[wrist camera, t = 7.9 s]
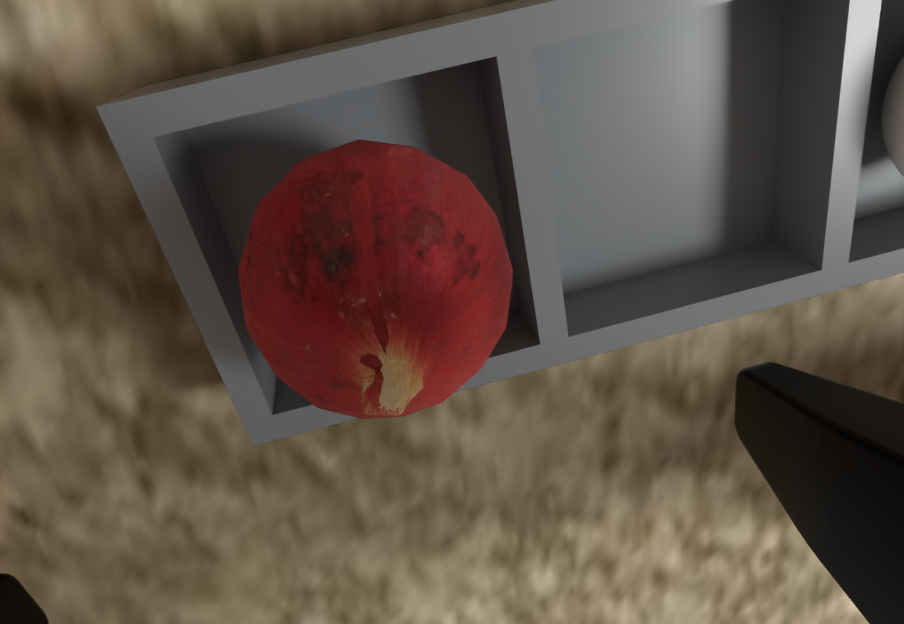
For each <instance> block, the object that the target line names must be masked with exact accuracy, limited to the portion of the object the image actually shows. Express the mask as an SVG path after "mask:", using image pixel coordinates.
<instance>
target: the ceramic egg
mask: <svg viewBox="0 0 904 624" xmlns="http://www.w3.org/2000/svg"><path fill="white" fill-rule="evenodd" d="M881 130H882V136H883V140H884V144H885V147H886V150H887V152H888V155H889V157H890V159H891V160H892V162H893V164H894V165H895V167H896V168H897V170H898V171H899V172H900V174H901V175H902V176H903V177H904V55H903V57H902V58H901V60H900V61H899V63H898V64H897V66H896V68H895V70H894V72H893V74H892V76H891V78H890V80H889V83H888V85H887V88H886V91H885V95H884V99H883V104H882V114H881Z"/></svg>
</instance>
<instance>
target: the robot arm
mask: <svg viewBox="0 0 904 624" xmlns="http://www.w3.org/2000/svg"><path fill="white" fill-rule="evenodd" d="M734 419H735V427H736V431H737V433H738V436H739V438H740V440H741V441H742V443H743V445H744V446H745V448H746V449H747V451H748V452H749V454H750V456H751V457H752V459H753V460H754V462H755V463H756V465H757V467H758V468H759V470H760V471H761V473H762V474H763V476H764V478H765V479H766V481H767V482H768V484H769V485H770V487H771V489H772V490H773V492H774V493H775V495H776V496H777V498H778V500H779V501H780V503H781V504H782V506H783V507H784V509H785V511H786V512H787V514H788V515H789V517H790V518H791V520H792V522H793V523H794V525H795V526H796V528H797V529H798V531H799V532H800V534H801V535H802V537H803V538H804V540H805V541H806V543H807V544H808V545H809V547H810V548H811V549H812V551H813V552H814V553H815V555H816V556H817V557H818V559H819V560H820V561H821V563H822V564H823V565H824V566H825V568H826V569H827V570H828V572H829V573H830V574H831V575H832V577H833V578H834V579H835V580H836V582H837V583H838V584H839V585H840V587H841V588H842V589H843V591H844V592H845V593H846V594H847V596H848V597H849V598H850V599H851V601H852V602H853V603H854V604H855V606H856V607H857V608H858V610H859V611H860V612H861V613H862V615H863V616H864V617H865V618H866V620H867V621H868V622H869V623H870V624H904V403H901V402H897V401H894V400H891V399H888V398H885V397H882V396H879V395H875V394H872V393H869V392H866V391H863V390H860V389H856V388H853V387H850V386H847V385H844V384H841V383H837V382H834V381H831V380H828V379H825V378H822V377H818V376H815V375H812V374H809V373H806V372H803V371H799V370H796V369H793V368H790V367H787V366H784V365H781V364H777V363H773V362H768V363H763V364H759V365H756V366H752V367H748V368H745V369H743V370H741V371H740V372H739V373H738V375H737V377H736V389H735V418H734ZM0 624H49V623H48V619H47V616H46V614H45V613H44V611H43V610H42V609H41V608H40V606H39V605H38V604H37V603H36V602H35V600H34V599H33V598H32V597H31V595H30V594H29V593H28V592H27V591H26V589H25V588H24V587H23V586H22V585H21V583H20V582H19V581H18V580H17V579H16V578H15V577H14V576H12V575H10V574H7V573H4V574H3V573H1V574H0Z"/></svg>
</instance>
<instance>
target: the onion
mask: <svg viewBox="0 0 904 624" xmlns="http://www.w3.org/2000/svg"><path fill="white" fill-rule="evenodd" d="M238 276H239V283H240V290H241V297H242V304H243V311H244V319H245V323H246V327H247V331H248V334H249V335H250V337H251V338H252V340H253V341H254V343H255V344H256V346H257V347H258V349H259V351H260V352H261V354H262V355H263V357H264V358H265V360H266V361H267V363H268V364H269V366H270V368H271V369H272V371H273V372H274V373H275V374H276V375H277V376H278V377H279V378H280V379H281V380H282V381H283V382H284V383H286V384H287V385H288V386H289V387H291V388H292V389H293V390H295V391H296V392H297V393H299V394H300V395H301V396H303V397H304V398H305V399H306V400H308V401H309V402H310V403H311V404H313V405H314V406H315V407H317V408H319V409H323V410H327V411H331V412H335V413H339V414H343V415H347V416H352V417H356V418H360V419H368V418H385V417H400V416H405V415H408V414H411V413H414V412H416V411H419V410H422V409H425V408H427V407H430V406H433V405H436V404H439V403H441V402H443V401H444V400H445V399H447V398H448V397H449V396H450V395H451V394H453V393H454V392H455V391H456V390H457V389H459V388H460V387H461V386H462V385H463V384H464V383H466V382H467V381H468V380H469V379H470V378H472V377H473V376H474V375H475V374H476V373H477V372H478V371H479V370H480V369H481V368H482V367H483V365H484V364H485V362H486V360H487V359H488V357H489V355H490V354H491V352H492V350H493V349H494V347H495V345H496V343H497V342H498V340H499V338H500V337H501V335H502V333H503V332H504V330H505V328H506V325H507V317H508V310H509V303H510V295H511V288H512V277H513V268H512V265H511V262H510V258H509V255H508V252H507V248H506V245H505V242H504V238H503V235H502V232H501V228H500V225H499V222H498V219H497V216H496V214H495V213H494V211H493V210H492V209H491V207H490V206H489V205H488V203H487V202H486V201H485V199H484V198H483V196H482V195H481V194H480V192H479V191H478V190H477V188H476V187H475V186H474V184H473V183H472V182H471V180H470V179H469V178H468V176H466V175H464V174H463V173H461V172H459V171H457V170H455V169H454V168H452V167H450V166H448V165H447V164H445V163H443V162H441V161H439V160H438V159H436V158H434V157H432V156H430V155H429V154H427V153H425V152H423V151H421V150H420V149H418V148H416V147H414V146H406V145H398V144H391V143H383V142H376V141H368V140H360V139H358V140H355V141H352V142H349V143H346V144H344V145H341V146H338V147H335V148H332V149H329V150H326V151H323V152H320V153H318V154H315V155H312V156H309V157H306V158H304V159H303V160H301V161H299V162H298V163H297V164H296V165H295V166H294V167H293V168H292V169H291V170H290V171H289V172H288V173H287V174H286V175H285V176H284V177H283V178H282V179H281V180H280V181H279V182H278V183H277V184H276V185H275V186H274V187H273V188H272V189H271V190H270V191H269V192H268V193H267V194H266V195H265V196H264V197H263V198H262V199H261V200H260V202H259V203H258V204H257V205H256V208H255V211H254V215H253V218H252V222H251V225H250V229H249V233H248V236H247V240H246V243H245V247H244V250H243V254H242V258H241V261H240V265H239V268H238Z"/></svg>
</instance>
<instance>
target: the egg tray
mask: <svg viewBox="0 0 904 624" xmlns="http://www.w3.org/2000/svg"><path fill="white" fill-rule="evenodd" d="M903 55H904V0H514V1H510V2H505V3H501V4H497V5H492V6H488V7H484V8H479V9H475V10H471V11H466V12H462V13H458V14H453V15H449V16H445V17H440V18H436V19H432V20H427V21H423V22H419V23H414V24H410V25H406V26H401V27H397V28H393V29H388V30H384V31H380V32H375V33H371V34H367V35H362V36H358V37H354V38H349V39H345V40H341V41H336V42H332V43H328V44H323V45H319V46H315V47H310V48H306V49H302V50H297V51H293V52H289V53H284V54H280V55H276V56H271V57H267V58H263V59H258V60H254V61H250V62H245V63H241V64H237V65H232V66H228V67H224V68H219V69H215V70H211V71H206V72H202V73H198V74H193V75H189V76H185V77H180V78H176V79H172V80H167V81H163V82H159V83H154V84H150V85H146V86H143V87H140V88H138V89H136V90H133V91H131V92H129V93H127V94H124V95H122V96H120V97H117V98H115V99H113V100H110V101H108V102H106V103H103V104H101V105H99V106H97V107H96V108H97V110H98V113H99V115H100V117H101V119H102V121H103V123H104V126H105V128H106V130H107V132H108V134H109V136H110V138H111V141H112V143H113V145H114V147H115V149H116V151H117V154H118V156H119V158H120V160H121V162H122V164H123V167H124V169H125V171H126V173H127V175H128V177H129V179H130V182H131V184H132V186H133V188H134V190H135V192H136V195H137V197H138V199H139V201H140V203H141V205H142V207H143V210H144V212H145V214H146V216H147V218H148V220H149V223H150V225H151V227H152V229H153V231H154V233H155V236H156V238H157V240H158V242H159V244H160V246H161V248H162V251H163V253H164V255H165V257H166V259H167V261H168V264H169V266H170V268H171V270H172V272H173V274H174V277H175V279H176V281H177V283H178V285H179V287H180V289H181V292H182V294H183V296H184V298H185V300H186V302H187V305H188V307H189V309H190V311H191V313H192V315H193V317H194V320H195V322H196V324H197V326H198V328H199V330H200V333H201V335H202V337H203V339H204V341H205V343H206V346H207V348H208V350H209V352H210V354H211V356H212V358H213V361H214V363H215V365H216V367H217V369H218V371H219V374H220V376H221V378H222V380H223V382H224V384H225V387H226V389H227V391H228V393H229V395H230V397H231V399H232V402H233V404H234V406H235V408H236V410H237V412H238V415H239V417H240V419H241V421H242V423H243V425H244V427H245V430H246V432H247V434H248V436H249V438H250V440H251V443H252V445H253V446H256V445H260V444H263V443H267V442H271V441H275V440H278V439H282V438H286V437H290V436H293V435H297V434H301V433H304V432H308V431H312V430H316V429H319V428H323V427H327V426H331V425H334V424H338V423H342V422H346V421H349V420H353V419H357V418H356V417H352V416H347V415H343V414H339V413H335V412H331V411H327V410H323V409H319V408H317V407H315V406H314V405H313V404H311V403H310V402H309V401H308V400H306V399H305V398H304V397H303V396H301V395H300V394H299V393H297V392H296V391H295V390H293V389H292V388H291V387H289V386H288V385H287V384H286V383H284V382H283V381H282V380H281V379H280V378H279V377H278V376H277V375H276V374H275V373H274V372H273V371H272V369H271V368H270V366H269V364H268V363H267V361H266V360H265V358H264V357H263V355H262V354H261V352H260V351H259V349H258V347H257V346H256V344H255V343H254V341H253V340H252V338H251V337H250V335H249V334H248V331H247V327H246V323H245V319H244V311H243V304H242V297H241V290H240V283H239V276H238V268H239V265H240V261H241V258H242V254H243V250H244V247H245V243H246V240H247V236H248V233H249V229H250V225H251V222H252V218H253V215H254V211H255V208H256V205H257V204H258V203H259V202H260V200H261V199H262V198H263V197H264V196H265V195H266V194H267V193H268V192H269V191H270V190H271V189H272V188H273V187H274V186H275V185H276V184H277V183H278V182H279V181H280V180H281V179H282V178H283V177H284V176H285V175H286V174H287V173H288V172H289V171H290V170H291V169H292V168H293V167H294V166H295V165H296V164H297V163H298V162H299V161H301V160H303V159H304V158H306V157H309V156H312V155H315V154H318V153H320V152H323V151H326V150H329V149H332V148H335V147H338V146H341V145H344V144H346V143H349V142H352V141H355V140H358V139H360V140H368V141H376V142H383V143H391V144H398V145H406V146H414V147H416V148H418V149H420V150H421V151H423V152H425V153H427V154H429V155H430V156H432V157H434V158H436V159H438V160H439V161H441V162H443V163H445V164H447V165H448V166H450V167H452V168H454V169H455V170H457V171H459V172H461V173H463V174H464V175H466V176H468V178H469V179H470V180H471V182H472V183H473V184H474V186H475V187H476V188H477V190H478V191H479V192H480V194H481V195H482V196H483V198H484V199H485V201H486V202H487V203H488V205H489V206H490V207H491V209H492V210H493V211H494V213H495V214H496V216H497V219H498V222H499V225H500V228H501V232H502V235H503V238H504V242H505V245H506V248H507V252H508V255H509V258H510V262H511V265H512V268H513V277H512V288H511V295H510V303H509V310H508V317H507V325H506V328H505V330H504V332H503V333H502V335H501V337H500V338H499V340H498V342H497V343H496V345H495V347H494V349H493V350H492V352H491V354H490V355H489V357H488V359H487V360H486V362H485V364H484V365H483V367H482V368H481V369H480V370H479V371H478V372H477V373H476V374H475V375H474V376H473V377H472V378H470V379H469V380H468V381H467V382H466V383H464V384H463V385H462V386H461V387H460V388H459V389H457V390H456V391H455V392H458V391H462V390H465V389H469V388H473V387H477V386H480V385H484V384H488V383H492V382H495V381H499V380H503V379H507V378H510V377H514V376H518V375H522V374H525V373H529V372H533V371H537V370H540V369H544V368H548V367H552V366H555V365H559V364H563V363H567V362H570V361H574V360H578V359H581V358H585V357H589V356H593V355H596V354H600V353H604V352H608V351H611V350H615V349H619V348H623V347H626V346H630V345H634V344H638V343H641V342H645V341H649V340H653V339H656V338H660V337H664V336H668V335H671V334H675V333H679V332H683V331H686V330H690V329H694V328H698V327H701V326H705V325H709V324H712V323H716V322H720V321H724V320H727V319H731V318H735V317H739V316H742V315H746V314H750V313H754V312H757V311H761V310H765V309H769V308H772V307H776V306H780V305H784V304H787V303H791V302H795V301H799V300H802V299H806V298H810V297H814V296H817V295H821V294H825V293H829V292H832V291H836V290H840V289H843V288H847V287H851V286H855V285H858V284H862V283H866V282H870V281H873V280H877V279H881V278H885V277H888V276H892V275H896V274H900V273H903V272H904V177H903V176H902V175H901V174H900V172H899V171H898V170H897V168H896V167H895V165H894V164H893V162H892V160H891V159H890V157H889V155H888V152H887V150H886V147H885V144H884V140H883V136H882V130H881V114H882V104H883V99H884V95H885V91H886V88H887V85H888V83H889V80H890V78H891V76H892V74H893V72H894V70H895V68H896V66H897V64H898V63H899V61H900V60H901V58H902V57H903Z"/></svg>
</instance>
